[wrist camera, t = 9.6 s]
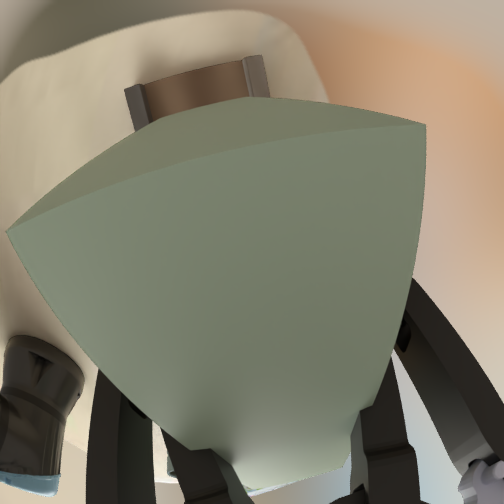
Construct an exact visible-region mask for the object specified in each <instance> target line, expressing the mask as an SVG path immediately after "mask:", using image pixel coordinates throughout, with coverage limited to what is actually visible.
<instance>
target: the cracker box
mask: <svg viewBox="0 0 504 504" xmlns="http://www.w3.org/2000/svg"><path fill="white" fill-rule="evenodd" d="M425 169H426V125H425V124H422V123H419V122H415V121H411V120H408V119H404V118H400V117H395V116H392V115H387V114H383V113H378V112H374V111H369V110H364V109H359V108H353V107H347V106H341V105H335V104H328V103H321V102H312V101H304V100H293V99H281V98H266V97H242V98H237V99H232V100H227V101H223V102H218V103H214V104H210V105H205V106H201V107H197V108H194V109H190V110H186V111H182V112H179V113H175V114H172V115H169V116H165V117H162V118H159V119H158V120H156V121H154V122H152V123H150V124H149V125H147V126H145V127H143V128H141V129H140V130H138V131H136V132H135V133H133V134H131V135H130V136H128V137H126V138H125V139H123V140H121V141H120V142H118V143H117V144H115V145H113V146H112V147H110V148H109V149H107V150H106V151H104V152H103V153H101V154H100V155H98V156H97V157H95V158H94V159H92V160H91V161H89V162H88V163H87V164H85V165H84V166H82V167H81V168H80V169H78V170H77V171H75V172H74V173H73V174H71V175H70V176H69V177H68V178H66V179H65V180H64V181H62V182H61V183H60V184H58V185H57V186H56V187H55V188H53V189H52V190H51V191H50V192H49V193H47V194H46V195H45V196H44V197H43V198H41V199H40V200H39V201H38V202H37V203H36V204H34V205H33V206H32V207H31V208H30V209H29V210H28V211H27V212H26V213H24V214H23V215H22V216H21V217H20V218H19V219H18V220H17V221H16V222H15V223H14V224H13V225H12V226H11V227H10V228H9V229H8V230H7V231H6V233H7V235H8V237H9V239H10V241H11V243H12V245H13V247H14V249H15V251H16V253H17V255H18V256H19V258H20V260H21V262H22V264H23V265H24V267H25V269H26V270H27V272H28V274H29V275H30V277H31V279H32V280H33V282H34V284H35V285H36V287H37V288H38V290H39V291H40V293H41V295H42V296H43V298H44V299H45V301H46V302H47V303H48V305H49V306H50V308H51V309H52V311H53V312H54V313H55V315H56V316H57V318H58V319H59V320H60V322H61V323H62V324H63V326H64V327H65V328H66V330H67V331H68V332H69V334H70V335H71V336H72V337H73V339H74V340H75V341H76V342H77V344H78V345H79V346H80V347H81V348H82V350H83V351H84V352H85V353H86V354H87V355H88V357H89V358H90V359H91V360H92V361H93V362H94V363H95V365H96V366H97V367H98V368H99V369H100V370H101V371H102V372H103V373H104V374H105V375H106V377H107V378H108V379H109V380H110V381H111V382H112V383H113V384H114V385H115V386H116V387H117V388H118V389H119V390H120V391H121V392H122V393H123V394H124V395H125V396H126V397H127V398H128V399H129V400H130V401H131V402H133V403H134V404H135V405H136V406H137V407H138V408H139V409H140V410H141V411H142V412H143V413H145V414H146V415H147V416H148V417H149V418H150V419H151V420H153V421H154V422H155V423H156V424H157V425H158V426H160V427H161V428H162V429H163V430H165V431H166V432H167V433H168V434H170V435H171V436H172V437H173V438H175V439H176V440H177V441H178V442H180V443H181V444H182V445H184V446H185V447H186V448H188V449H189V450H200V449H208V448H211V449H212V450H213V451H214V452H216V453H217V454H218V455H219V456H221V457H222V458H223V459H224V460H226V461H227V462H228V463H229V464H231V465H232V466H233V468H234V470H235V472H236V474H237V476H238V478H239V480H240V482H241V483H242V484H243V485H245V486H247V487H248V488H250V489H252V490H255V489H261V488H266V487H271V486H276V485H281V484H286V483H290V482H294V481H298V480H302V479H306V478H309V477H312V476H316V475H320V474H323V473H326V472H330V471H333V470H336V469H338V468H341V467H343V465H344V463H345V461H346V459H347V458H348V456H349V454H350V452H351V441H350V435H351V433H352V430H353V427H354V425H355V422H356V419H357V416H358V414H359V411H360V410H362V409H364V408H367V407H369V406H372V405H373V403H374V400H375V398H376V395H377V393H378V390H379V388H380V385H381V383H382V380H383V377H384V374H385V372H386V369H387V366H388V363H389V360H390V357H391V354H392V351H393V348H394V345H395V342H396V338H397V335H398V332H399V328H400V325H401V321H402V317H403V313H404V310H405V306H406V302H407V297H408V293H409V289H410V284H411V280H412V275H413V270H414V264H415V259H416V253H417V247H418V241H419V234H420V227H421V219H422V210H423V199H424V187H425Z"/></svg>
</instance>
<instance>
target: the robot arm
mask: <svg viewBox="0 0 504 504" xmlns="http://www.w3.org/2000/svg"><path fill="white" fill-rule="evenodd" d="M394 350H395V352H396V353H397V355H398V356H399V359H400V360H401V362H402V364H403V366H404V368H405V369H406V371H407V373H408V375H409V377H410V379H411V380H412V382H413V384H414V386H415V388H416V390H417V392H418V394H419V395H420V397H421V399H422V401H423V403H424V405H425V407H426V409H427V411H428V413H429V415H430V417H431V419H432V421H433V423H434V425H435V427H436V429H437V432H438V434H439V436H440V438H441V440H442V442H443V444H444V447H445V449H446V451H447V453H448V455H449V457H450V459H451V461H452V463H453V464H454V466H455V467H456V469H457V470H458V472H459V473H460V474H461V475H462V476H463V477H462V478H461V481H460V484H459V486H458V491H459V492H460V493H461V494H462V497H463V499H464V504H504V404H503V402H502V400H501V398H500V397H499V395H498V393H497V392H496V390H495V388H494V387H493V385H492V383H491V382H490V380H489V379H488V377H487V375H486V374H485V372H484V371H483V369H482V368H481V366H480V365H479V363H478V362H477V360H476V359H475V357H474V356H473V354H472V353H471V351H470V350H469V348H468V347H467V346H466V344H465V343H464V341H463V340H462V339H461V337H460V336H459V335H458V333H457V332H456V330H455V329H454V328H453V327H452V325H451V324H450V322H449V321H448V320H447V319H446V317H445V316H444V315H443V313H442V312H441V311H440V310H439V308H438V307H437V306H436V305H435V303H434V302H433V301H432V300H431V298H430V297H429V296H428V295H427V293H425V291H424V290H423V289H422V287H421V286H420V285H419V284H418V283H417V282H416V280H415V279H413V278H412V280H411V284H410V289H409V293H408V297H407V302H406V306H405V310H404V313H403V317H402V321H401V325H400V328H399V332H398V335H397V338H396V342H395V345H394ZM83 387H84V376H83V373H82V372H81V370H80V369H79V367H78V366H77V365H76V364H75V363H74V362H73V361H72V360H71V359H70V358H69V357H68V356H67V355H65V354H64V353H63V352H61V351H60V350H58V349H57V348H55V347H53V346H52V345H50V344H48V343H46V342H44V341H41V340H39V339H36V338H33V337H29V336H15V337H13V338H11V339H10V340H9V342H8V345H7V347H6V349H5V352H4V364H3V384H2V388H1V391H0V482H2V483H5V484H7V485H10V486H13V487H15V488H18V489H21V490H24V491H27V492H30V493H34V494H37V495H41V496H45V497H52V496H54V495H56V493H57V491H58V484H59V478H60V476H61V474H60V465H61V455H62V446H63V439H64V432H65V425H66V420H67V417H68V415H69V414H70V412H71V410H72V409H73V407H74V405H75V404H76V402H77V400H78V399H79V398H80V396H81V394H82V391H83ZM160 428H161V427H160ZM161 432H162V435H163V438H164V441H165V445H166V448H167V451H168V454H169V457H170V460H171V463H172V466H173V468H174V471H175V474H176V477H177V479H178V482H179V484H180V487H181V490H182V492H183V494H184V498H185V502H184V504H254V502H253V501H252V500H251V498H250V497H249V496H248V494H247V493H246V491H245V489H244V487H243V485H242V483H241V482H240V480H239V478H238V476H237V474H236V472H235V470H234V468H233V466H232V465H231V464H229V463H228V462H227V461H226V460H224V459H223V458H222V457H221V456H219V455H218V454H217V453H216V452H214V451H213V450H212V449H211V448H208V449H200V450H189V449H188V448H186V447H185V446H184V445H182V444H181V443H180V442H178V441H177V440H176V439H175V438H173V437H172V436H171V435H170V434H168V433H167V432H166V431H165V430H163V429H162V428H161ZM350 441H351V461H352V470H351V478H350V495H347V496H345V497H341V498H339V499H337V500H335V501H333V502H332V503H330V504H429V503H426V502H424V501H421V500H420V486H419V475H418V466H417V458H416V453H415V450H414V448H413V447H412V446H411V445H410V444H409V442H408V439H407V432H406V426H405V420H404V414H403V409H402V403H401V399H400V393H399V389H398V384H397V379H396V375H395V370H394V366H393V362H392V358H391V357H390V360H389V363H388V366H387V369H386V372H385V374H384V377H383V380H382V383H381V385H380V388H379V390H378V393H377V395H376V398H375V400H374V403H373V405H372V406H369V407H367V408H364V409H362V410H360V411H359V414H358V416H357V419H356V422H355V425H354V427H353V430H352V433H351V435H350ZM86 504H156V496H155V484H154V467H153V441H152V420H151V419H150V418H149V417H148V416H147V415H146V414H145V413H143V412H142V411H141V410H140V409H139V408H138V407H137V406H136V405H135V404H134V403H133V402H131V401H130V400H129V399H128V398H127V397H126V396H125V395H124V394H123V393H122V392H121V391H120V390H119V389H118V388H117V387H116V386H115V385H114V384H113V383H112V382H111V381H110V380H109V379H108V378H107V377H106V375H105V374H104V373H103V372H102V371H101V370H100V369H98V375H97V380H96V386H95V392H94V399H93V405H92V413H91V421H90V429H89V439H88V451H87V468H86Z"/></svg>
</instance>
